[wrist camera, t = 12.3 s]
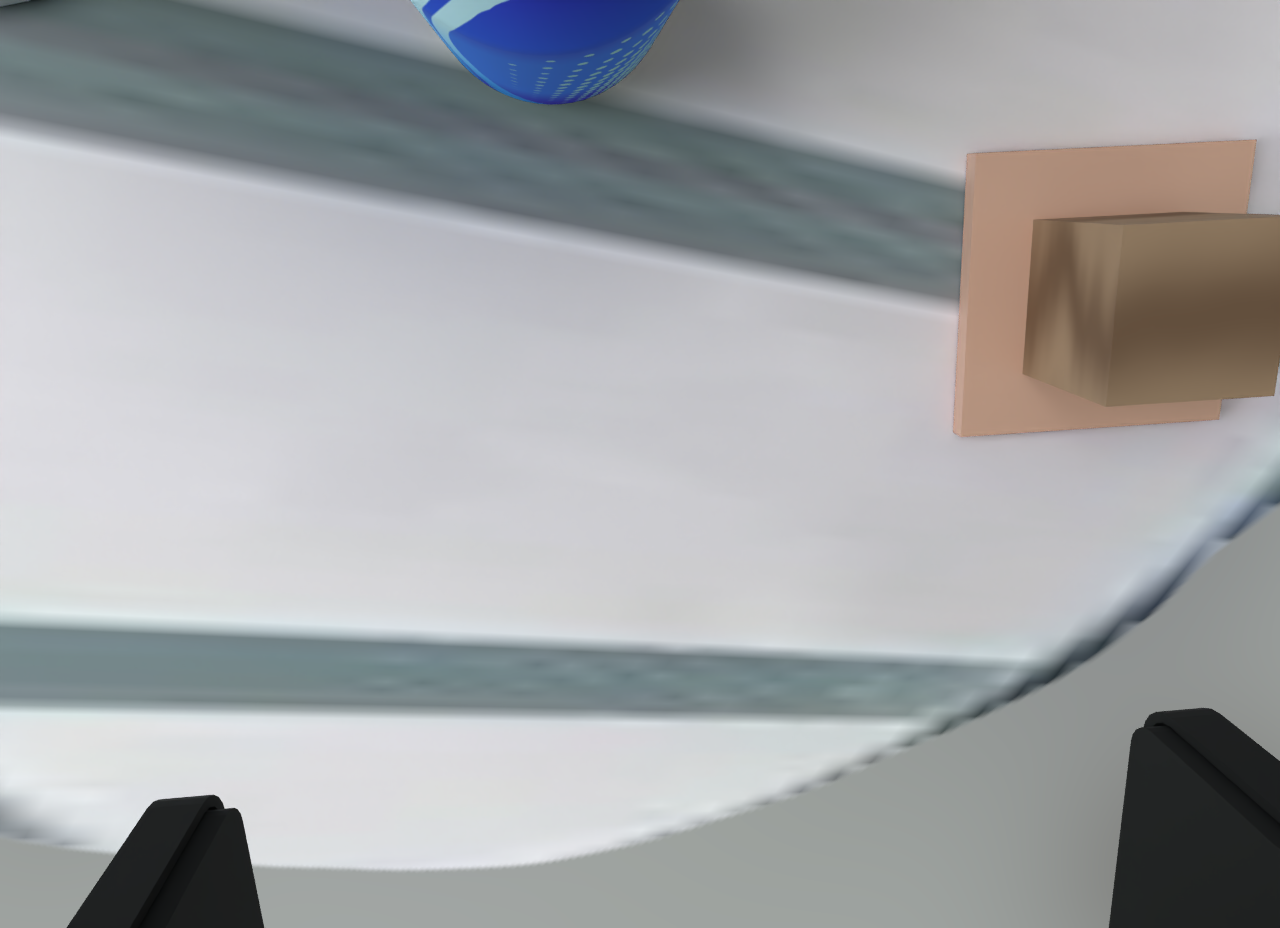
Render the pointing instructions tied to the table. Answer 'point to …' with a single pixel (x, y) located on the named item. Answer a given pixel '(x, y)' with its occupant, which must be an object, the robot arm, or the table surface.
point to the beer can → (548, 42)
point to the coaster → (1001, 253)
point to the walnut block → (1155, 306)
